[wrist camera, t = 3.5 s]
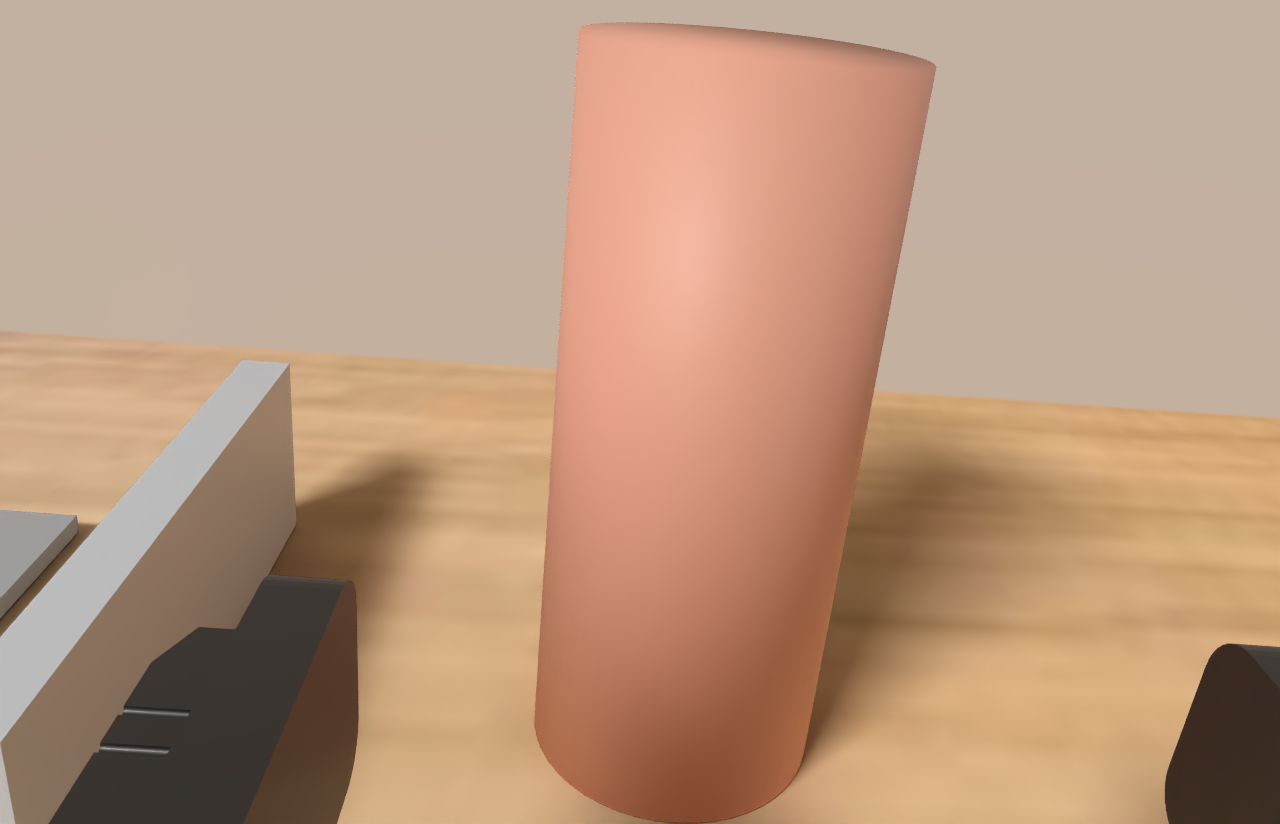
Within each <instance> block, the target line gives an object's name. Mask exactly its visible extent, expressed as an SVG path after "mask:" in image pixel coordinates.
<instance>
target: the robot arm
mask: <svg viewBox="0 0 1280 824" xmlns="http://www.w3.org/2000/svg"><path fill="white" fill-rule="evenodd" d="M357 735H358V663H357V613H356V593H355V588H354V585H353V582H352V581H350V580H338V579H323V578H309V577H294V576H280V575H268V576H266V577H265V578H264V579H263V581H262V582H261V584H260V585H259V587H258V589H257V591H256V593H255V595H254V596H253V598H252V600H251V602H250V604H249V606H248V607H247V609H246V611H245V613H244V615H243V616H242V618H241V620H240V622H239V624H238V626H237V627H236V629H223V628H208V627H198V628H197V629H195V630H194V631H193V632H191V633H190V634H189V635H187V636H186V637H185V638H183V639H182V640H180V641H179V642H178V643H176V644H175V645H174V646H172V647H171V648H170V649H168V650H167V651H166V652H164V653H163V654H162V655H160V656H159V657H158V658H156V659H155V660H153V661H152V662H151V663H150V665H149V667H148V668H147V670H146V671H145V673H144V674H143V676H142V678H141V679H140V681H139V682H138V684H137V685H136V687H135V689H134V690H133V692H132V693H131V695H130V696H129V698H128V700H127V701H126V703H125V704H124V709H123V713H122V715H117V717H116V718H115V720H114V722H113V723H112V725H111V726H110V728H109V729H108V731H107V733H106V734H105V736H104V737H103V739H102V740H101V742H100V749H99V752H98V753H97V752H94V753H93V755H92V756H91V758H90V759H89V761H88V762H87V764H86V766H85V767H84V769H83V770H82V772H81V773H80V775H79V777H78V778H77V780H76V781H75V783H74V784H73V786H72V788H71V789H70V791H69V792H68V794H67V795H66V797H65V799H64V800H63V802H62V803H61V805H60V806H59V808H58V810H57V811H56V813H55V814H54V816H53V817H52V819H51V821H50V822H49V824H337V821H338V818H339V815H340V812H341V809H342V806H343V802H344V799H345V796H346V793H347V790H348V786H349V783H350V779H351V775H352V770H353V765H354V759H355V752H356V745H357ZM1165 804H1166V812H1167V817H1168V821H1169V824H1280V647H1272V646H1257V645H1243V644H1225V645H1222V646H1221V647H1219V648H1217V649H1216V650H1215V651H1214V652H1213V654H1212V655H1211V657H1210V658H1209V660H1208V663H1207V665H1206V667H1205V670H1204V673H1203V675H1202V678H1201V681H1200V684H1199V686H1198V689H1197V692H1196V694H1195V697H1194V700H1193V702H1192V705H1191V708H1190V711H1189V713H1188V716H1187V719H1186V721H1185V724H1184V727H1183V730H1182V732H1181V735H1180V738H1179V740H1178V743H1177V746H1176V749H1175V751H1174V754H1173V757H1172V759H1171V762H1170V765H1169V768H1168V771H1167V776H1166V781H1165Z"/></svg>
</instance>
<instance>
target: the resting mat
mask: <svg viewBox="0 0 1280 824" xmlns="http://www.w3.org/2000/svg"><path fill="white" fill-rule="evenodd" d="M78 532H79V529H78V521H77V516H76V515H62V514H49V513H35V512H21V511H8V510H0V619H1V617H2V616H3V615H4V614H5V613H6V612H7V611H8V610H9V609H10V607H11V606H12V605H13V604H14V603H15V602H16V601H17V600H18V599H19V597H20V596H21V595H22V594H23V593H24V592H25V591H26V590H27V588H28V587H29V586H30V585H31V584H32V583H33V582H34V581H35V580H36V578H37V577H38V576H39V575H40V574H41V573H42V572H43V571H44V570H45V568H46V567H47V566H48V565H49V564H50V563H51V562H52V561H53V560H54V558H55V557H56V556H57V555H58V554H59V553H60V552H61V551H62V550H63V548H64V547H65V546H66V545H67V544H68V543H69V542H70V541H71V539H72V538H73V537H74V536H75V535H76V534H77V533H78Z"/></svg>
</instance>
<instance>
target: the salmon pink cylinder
mask: <svg viewBox="0 0 1280 824" xmlns="http://www.w3.org/2000/svg"><path fill="white" fill-rule="evenodd" d="M576 63H577V64H576V78H575V94H574V109H573V124H572V140H571V157H570V171H569V188H568V203H567V218H566V235H565V249H564V265H563V281H562V296H561V297H562V298H561V312H560V329H559V343H558V359H557V375H556V390H555V406H554V421H553V437H552V453H551V468H550V484H549V500H548V515H547V531H546V547H545V562H544V578H543V593H542V609H541V625H540V640H539V656H538V672H537V687H536V703H535V730H536V735H537V739H538V741H539V744H540V747H541V749H542V751H543V753H544V755H545V756H546V758H547V760H548V761H549V763H550V764H551V765H552V766H553V768H554V769H555V770H556V771H557V773H558V774H559V775H560V776H562V777H563V778H564V779H565V780H566V781H567V782H568V783H569V784H570V785H572V786H573V787H574V788H576V789H577V790H578V791H580V792H581V793H583V794H584V795H586V796H588V797H589V798H591V799H593V800H595V801H596V802H598V803H600V804H602V805H605V806H607V807H609V808H612V809H614V810H616V811H619V812H622V813H625V814H629V815H632V816H635V817H639V818H644V819H649V820H654V821H661V822H670V823H703V822H714V821H719V820H724V819H729V818H733V817H736V816H739V815H742V814H745V813H748V812H751V811H753V810H755V809H757V808H759V807H761V806H763V805H765V804H766V803H768V802H769V801H771V800H772V799H774V798H775V797H777V796H778V795H779V794H780V793H781V792H782V791H783V790H784V789H786V788H787V786H788V785H789V784H790V782H791V781H792V780H793V779H794V777H795V775H796V773H797V772H798V770H799V768H800V765H801V762H802V759H803V755H804V750H805V745H806V740H807V735H808V729H809V724H810V719H811V714H812V709H813V704H814V698H815V693H816V688H817V683H818V678H819V672H820V667H821V662H822V657H823V652H824V647H825V641H826V636H827V631H828V626H829V621H830V615H831V610H832V605H833V600H834V595H835V590H836V584H837V579H838V574H839V569H840V564H841V558H842V553H843V548H844V543H845V538H846V533H847V527H848V522H849V517H850V512H851V507H852V501H853V496H854V491H855V486H856V481H857V476H858V470H859V465H860V460H861V455H862V450H863V444H864V439H865V434H866V429H867V424H868V419H869V413H870V408H871V403H872V398H873V393H874V387H875V382H876V377H877V372H878V367H879V362H880V356H881V351H882V346H883V341H884V336H885V330H886V325H887V320H888V315H889V310H890V305H891V299H892V294H893V289H894V284H895V278H896V274H897V268H898V263H899V258H900V253H901V247H902V242H903V237H904V232H905V227H906V221H907V216H908V211H909V206H910V201H911V195H912V191H913V185H914V180H915V175H916V170H917V164H918V160H919V154H920V149H921V143H922V138H923V133H924V128H925V123H926V118H927V113H928V108H929V103H930V97H931V92H932V87H933V82H934V76H935V71H936V66H935V64H933V63H931V62H930V61H927V60H924V59H922V58H918V57H915V56H911V55H908V54H904V53H900V52H895V51H891V50H886V49H881V48H876V47H871V46H865V45H860V44H854V43H847V42H840V41H834V40H828V39H821V38H813V37H807V36H799V35H790V34H783V33H774V32H765V31H756V30H745V29H735V28H724V27H711V26H698V25H683V24H664V23H600V24H591V25H585V26H582V27H580V28H579V31H578V47H577V62H576Z"/></svg>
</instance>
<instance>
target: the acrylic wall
mask: <svg viewBox="0 0 1280 824" xmlns="http://www.w3.org/2000/svg"><path fill="white" fill-rule="evenodd" d="M295 525H296V502H295V479H294V456H293V433H292V410H291V387H290V364H287V363H275V362H262V361H250V360H242V361H241V363H240V364H239V365H238V366H237V367H236V368H235V369H234V371H233V372H232V373H231V374H230V375H229V376H228V377H227V379H226V380H225V381H224V382H223V383H222V384H221V385H220V387H219V388H218V389H217V390H216V391H215V392H214V393H213V395H212V396H211V397H210V398H209V399H208V400H207V401H206V403H205V404H204V405H203V406H202V407H201V408H200V409H199V411H198V412H197V413H196V414H195V415H194V416H193V417H192V419H191V420H190V421H189V422H188V423H187V424H186V425H185V427H184V428H183V429H182V430H181V431H180V432H179V433H178V435H177V436H176V437H175V438H174V439H173V440H172V441H171V443H170V444H169V445H168V446H167V447H166V448H165V449H164V451H163V452H162V453H161V454H160V455H159V456H158V457H157V459H156V460H155V461H154V462H153V463H152V464H151V465H150V467H149V468H148V469H147V470H146V471H145V472H144V473H143V475H142V476H141V477H140V478H139V479H138V480H137V481H136V483H135V484H134V485H133V486H132V487H131V488H130V489H129V491H128V492H127V493H126V494H125V495H124V496H123V497H122V499H121V500H120V501H119V502H118V503H117V504H116V505H115V507H114V508H113V509H112V510H111V511H110V512H109V513H108V515H107V516H106V517H105V518H104V519H103V520H102V521H101V523H100V524H99V525H98V526H97V527H96V528H95V529H94V531H93V532H92V533H91V534H90V535H89V536H88V537H87V539H86V540H85V541H84V542H83V543H82V544H81V545H80V547H79V548H78V549H77V550H76V551H75V552H74V553H73V555H72V556H71V557H70V558H69V559H68V560H67V561H66V563H65V564H64V565H63V566H62V567H61V568H60V569H59V571H58V572H57V573H56V574H55V575H54V576H53V577H52V579H51V580H50V581H49V582H48V583H47V584H46V585H45V587H44V588H43V589H42V590H41V591H40V592H39V593H38V595H37V596H36V597H35V598H34V599H33V600H32V601H31V603H30V604H29V605H28V606H27V607H26V608H25V609H24V611H23V612H22V613H21V614H20V615H19V616H18V617H17V619H16V620H15V621H14V622H13V623H12V624H11V625H10V627H9V628H8V629H7V630H6V631H5V632H4V633H3V635H2V636H1V637H0V824H49V822H50V821H51V819H52V817H53V816H54V814H55V813H56V811H57V810H58V808H59V806H60V805H61V803H62V802H63V800H64V799H65V797H66V795H67V794H68V792H69V791H70V789H71V788H72V786H73V784H74V783H75V781H76V780H77V778H78V777H79V775H80V773H81V772H82V770H83V769H84V767H85V766H86V764H87V762H88V761H89V759H90V758H91V756H92V755H93V753H94V752H97V753H98V752H99V749H100V742H101V740H102V739H103V737H104V736H105V734H106V733H107V731H108V729H109V728H110V726H111V725H112V723H113V722H114V720H115V718H116V717H117V715H122V713H123V709H124V704H125V703H126V701H127V700H128V698H129V696H130V695H131V693H132V692H133V690H134V689H135V687H136V685H137V684H138V682H139V681H140V679H141V678H142V676H143V674H144V673H145V671H146V670H147V668H148V667H149V665H150V663H151V662H152V661H153V660H155V659H156V658H158V657H159V656H160V655H162V654H163V653H164V652H166V651H167V650H168V649H170V648H171V647H172V646H174V645H175V644H176V643H178V642H179V641H180V640H182V639H183V638H185V637H186V636H187V635H189V634H190V633H191V632H193V631H194V630H195V629H197V628H198V627H208V628H223V629H236V627H237V626H238V624H239V622H240V620H241V618H242V616H243V615H244V613H245V611H246V609H247V607H248V606H249V604H250V602H251V600H252V598H253V596H254V595H255V593H256V591H257V589H258V587H259V585H260V584H261V582H262V581H263V579H264V578H265V577H266V576H268V574H269V573H270V571H271V569H272V567H273V565H274V564H275V562H276V560H277V558H278V556H279V554H280V553H281V551H282V549H283V547H284V545H285V544H286V542H287V540H288V538H289V536H290V534H291V533H292V531H293V529H294V527H295Z"/></svg>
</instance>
